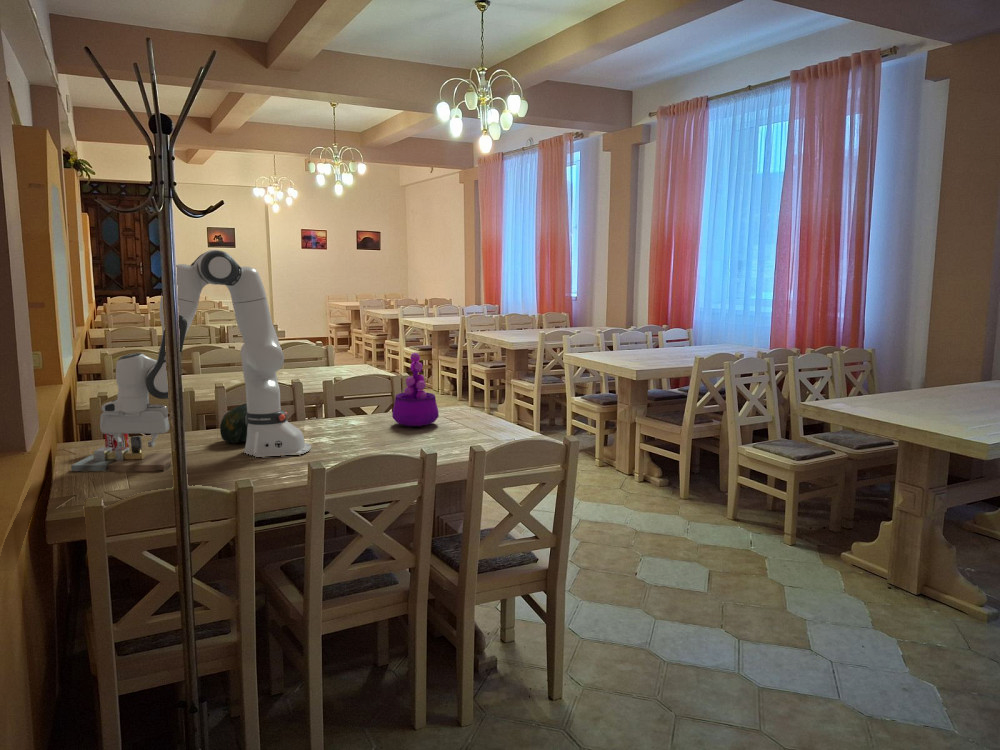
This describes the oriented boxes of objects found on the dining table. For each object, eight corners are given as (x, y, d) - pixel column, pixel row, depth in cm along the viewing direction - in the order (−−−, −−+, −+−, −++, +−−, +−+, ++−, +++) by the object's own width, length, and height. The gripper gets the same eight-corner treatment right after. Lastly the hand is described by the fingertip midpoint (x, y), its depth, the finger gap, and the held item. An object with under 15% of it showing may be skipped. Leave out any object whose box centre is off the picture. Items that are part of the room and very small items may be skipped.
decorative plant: (389, 421, 296) (388, 350, 291) (432, 419, 302) (432, 349, 297) (396, 431, 278) (395, 356, 274) (442, 429, 284) (442, 354, 279)
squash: (205, 428, 257) (225, 400, 251) (236, 421, 270) (256, 395, 265) (227, 457, 253) (248, 429, 248) (258, 449, 267) (278, 422, 262)
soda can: (102, 454, 240) (100, 417, 238) (110, 449, 247) (107, 412, 245) (125, 454, 241) (122, 416, 239) (132, 448, 248) (129, 412, 246)
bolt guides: (129, 457, 230) (129, 446, 230) (122, 461, 225) (121, 450, 225) (102, 457, 229) (101, 447, 229) (94, 461, 225) (94, 451, 224)
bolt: (145, 456, 229) (144, 435, 228) (141, 459, 226) (140, 438, 225) (97, 457, 228) (96, 436, 227) (93, 459, 225) (91, 438, 224)
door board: (181, 459, 236) (180, 453, 235) (164, 471, 222) (163, 464, 222) (94, 459, 234) (93, 453, 234) (71, 471, 220) (71, 465, 220)
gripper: (171, 402, 229) (173, 444, 231) (105, 402, 227) (108, 444, 230) (163, 406, 223) (165, 449, 225) (96, 406, 221) (99, 449, 223)
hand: (136, 446), depth 227 cm, fingers open, 8 cm apart
